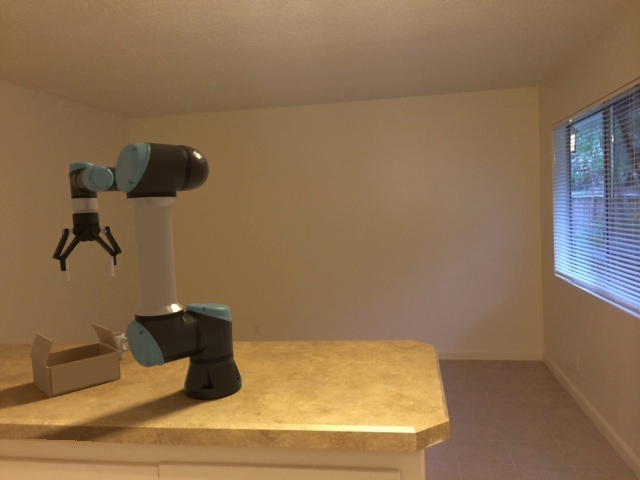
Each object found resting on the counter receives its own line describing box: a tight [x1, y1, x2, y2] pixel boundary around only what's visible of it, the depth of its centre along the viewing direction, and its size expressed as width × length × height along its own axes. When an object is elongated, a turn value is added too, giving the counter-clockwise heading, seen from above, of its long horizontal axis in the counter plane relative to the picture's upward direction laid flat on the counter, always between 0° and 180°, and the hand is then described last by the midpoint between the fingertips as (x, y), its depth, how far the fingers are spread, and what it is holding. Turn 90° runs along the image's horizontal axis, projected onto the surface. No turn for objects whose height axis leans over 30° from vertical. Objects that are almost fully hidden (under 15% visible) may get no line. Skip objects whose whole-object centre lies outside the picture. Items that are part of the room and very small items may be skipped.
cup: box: [98, 331, 131, 359], centre depth 166 cm, size 11×8×8 cm
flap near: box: [29, 332, 54, 367], centre depth 138 cm, size 15×1×7 cm, turn 43°
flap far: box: [91, 322, 120, 350], centre depth 150 cm, size 15×1×7 cm, turn 43°
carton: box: [31, 342, 122, 398], centre depth 144 cm, size 17×19×8 cm
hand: (90, 278), depth 158 cm, fingers open, 13 cm apart
